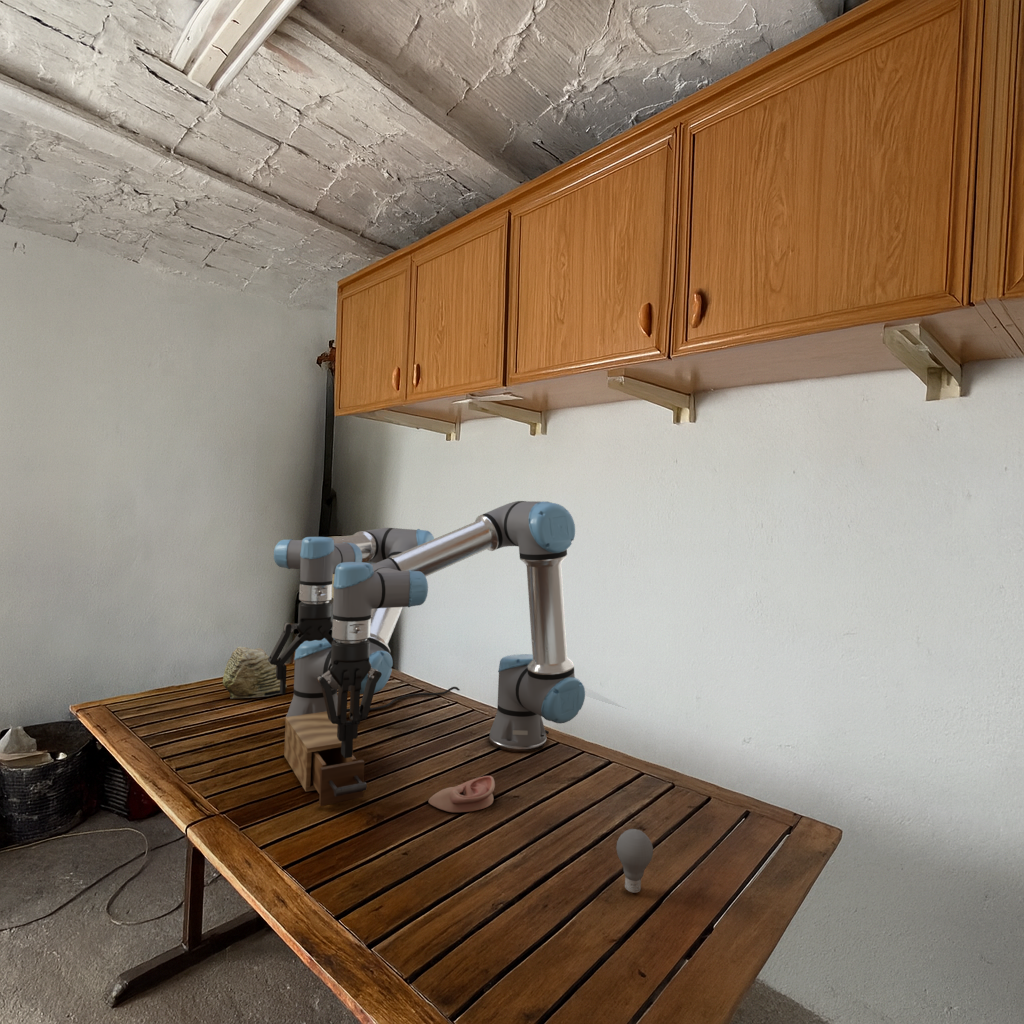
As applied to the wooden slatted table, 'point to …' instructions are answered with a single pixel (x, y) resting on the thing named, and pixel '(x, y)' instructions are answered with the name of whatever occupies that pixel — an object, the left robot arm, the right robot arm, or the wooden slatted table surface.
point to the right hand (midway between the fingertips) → (346, 755)
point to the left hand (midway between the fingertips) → (312, 689)
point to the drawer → (337, 776)
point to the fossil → (250, 674)
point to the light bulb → (634, 857)
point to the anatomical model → (465, 796)
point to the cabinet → (308, 742)
